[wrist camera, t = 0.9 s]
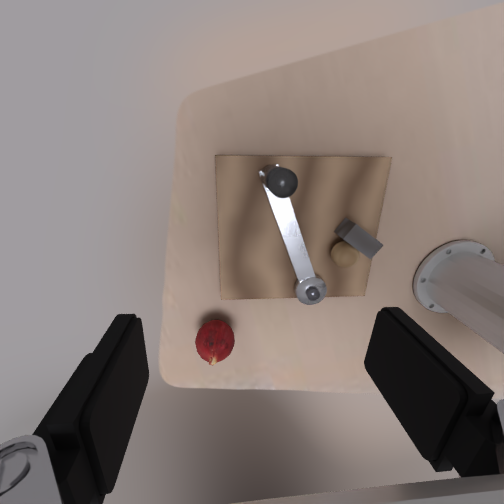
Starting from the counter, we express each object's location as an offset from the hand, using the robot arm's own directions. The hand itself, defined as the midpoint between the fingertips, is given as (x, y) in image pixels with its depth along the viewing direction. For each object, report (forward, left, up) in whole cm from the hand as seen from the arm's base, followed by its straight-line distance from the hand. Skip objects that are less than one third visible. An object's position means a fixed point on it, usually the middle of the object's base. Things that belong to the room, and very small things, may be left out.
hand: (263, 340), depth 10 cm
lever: (-7, +4, -24) cm, 25 cm away
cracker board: (-8, +3, -27) cm, 28 cm away
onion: (+4, +19, -27) cm, 33 cm away
